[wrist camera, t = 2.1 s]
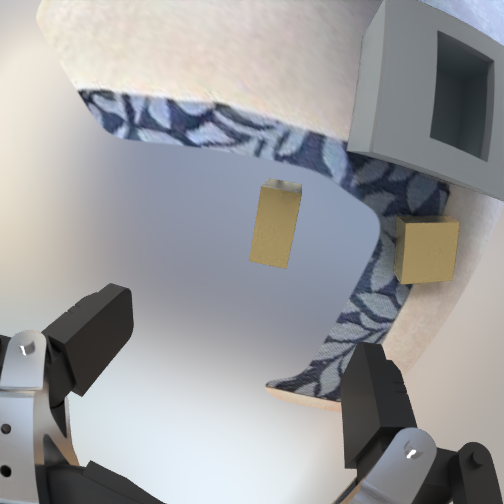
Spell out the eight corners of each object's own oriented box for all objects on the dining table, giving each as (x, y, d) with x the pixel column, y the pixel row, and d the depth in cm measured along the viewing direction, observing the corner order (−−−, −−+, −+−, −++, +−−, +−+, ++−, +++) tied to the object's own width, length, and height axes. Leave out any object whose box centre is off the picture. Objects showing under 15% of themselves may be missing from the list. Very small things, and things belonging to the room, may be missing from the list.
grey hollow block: (362, 37, 20) (388, -10, 11) (467, 78, 19) (523, 60, 9) (346, 150, 24) (372, 152, 15) (454, 184, 23) (512, 205, 14)
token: (396, 215, 26) (405, 223, 23) (446, 214, 25) (459, 222, 22) (392, 271, 28) (400, 284, 25) (440, 268, 27) (451, 280, 24)
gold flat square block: (269, 178, 26) (261, 186, 21) (301, 184, 26) (301, 194, 21) (259, 238, 29) (249, 261, 23) (289, 244, 28) (286, 268, 23)
